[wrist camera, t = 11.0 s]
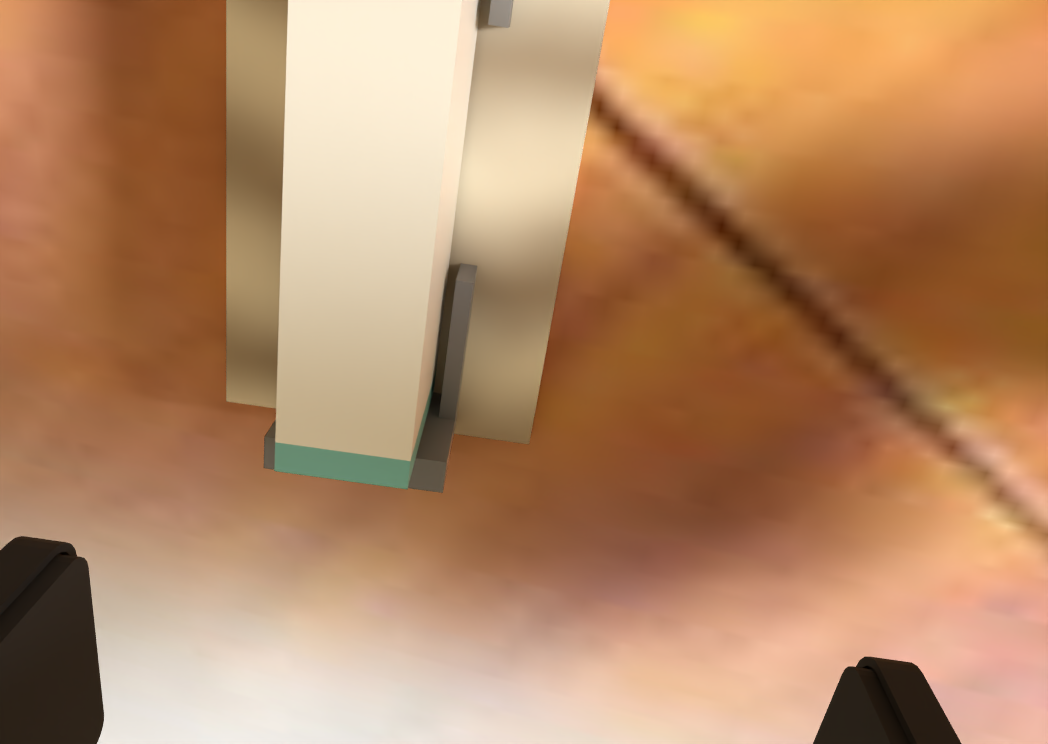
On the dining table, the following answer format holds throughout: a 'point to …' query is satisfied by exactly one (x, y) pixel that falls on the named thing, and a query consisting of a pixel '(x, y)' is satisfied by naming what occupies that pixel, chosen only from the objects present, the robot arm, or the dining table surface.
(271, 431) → the socket
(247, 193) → the base
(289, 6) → the white teal block
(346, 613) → the dining table surface
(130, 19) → the dining table surface
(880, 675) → the robot arm
